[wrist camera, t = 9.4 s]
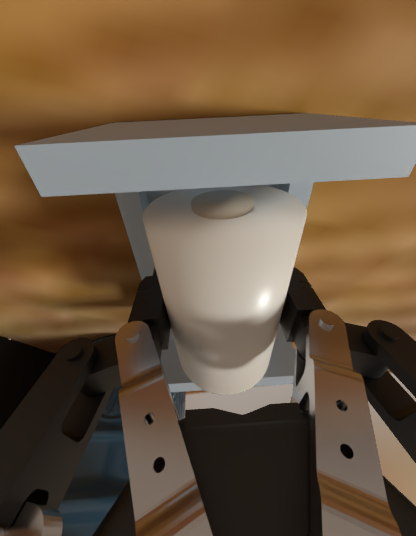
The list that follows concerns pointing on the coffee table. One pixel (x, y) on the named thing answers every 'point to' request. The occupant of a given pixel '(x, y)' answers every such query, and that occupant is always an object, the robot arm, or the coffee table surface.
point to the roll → (224, 276)
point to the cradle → (216, 174)
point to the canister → (101, 470)
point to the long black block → (18, 374)
